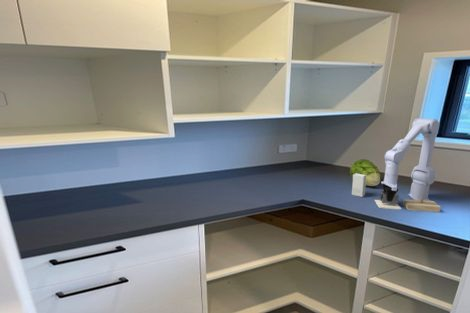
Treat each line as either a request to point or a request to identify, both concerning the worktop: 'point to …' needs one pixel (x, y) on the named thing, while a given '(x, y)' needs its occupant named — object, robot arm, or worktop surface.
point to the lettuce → (366, 171)
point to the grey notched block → (384, 198)
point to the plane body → (421, 205)
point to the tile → (387, 205)
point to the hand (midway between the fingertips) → (388, 199)
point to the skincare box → (359, 185)
